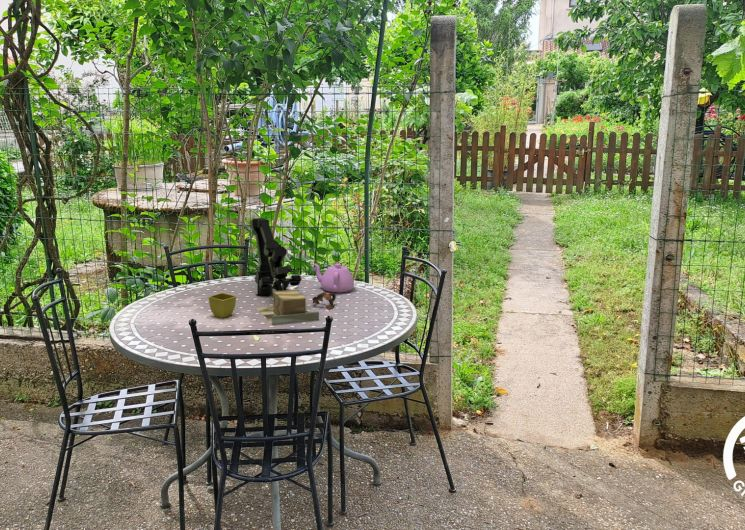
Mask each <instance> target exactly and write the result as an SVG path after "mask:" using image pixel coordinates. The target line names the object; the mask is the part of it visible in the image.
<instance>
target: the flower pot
mask: <svg viewBox="0 0 745 530" xmlns="http://www.w3.org/2000/svg"><path fill="white" fill-rule="evenodd" d="M236 301H237V295H234V294H230V293H225V292H220V293H217V294H213V295H210V296H208V302H209V307H210V311H211V313H212V314H213V315H214V316H215V317H216V318H217V317H219V318H222V319H223V318H226V317H230V316H232V314H233V313H234V311H235V308H236Z"/></svg>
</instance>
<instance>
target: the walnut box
mask: <svg viewBox="0 0 745 530" xmlns="http://www.w3.org/2000/svg"><path fill="white" fill-rule="evenodd" d="M306 300H307V299H306V297H305V296H304V295H303V294H301V293H300V292H298V291H297V290H296V289H288V290H287V289H286V290H285V291H276V290H274V291H273V306H274V314H275V315H276V316H279V315H289V314H299V313H305V309H306V307H307V306H306Z"/></svg>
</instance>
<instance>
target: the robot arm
mask: <svg viewBox="0 0 745 530" xmlns="http://www.w3.org/2000/svg"><path fill="white" fill-rule="evenodd" d="M249 227H250V229H251V233H252V234H253V235H254V237H255V242H256V247H257V249H256V250H257V255H258V256H257V257H258V263H259V265H258V266H257V271H256V274H255V277H254V283H255V284H256V285H257V293H255V296H259V297H265V298H268V297H270V296H272V295H274V291H285V290H287V288H289V285H290V286H292V287H294V286H299V285H300V283H301V281H302V276H301V275H300V274H292V275H291V277H289V278H287V277H288V274H289V273H291V272H292V271H293V268H292V264H287V265H286V266H284V265H283V262H284V261H285V258H286V256H287V253H288V250H287V249H286V248H285V247H284V246H282V244H280V243H279V241H277V240H275V238H274V235H273V232H272V229H271V226H270V220H269V219H266V218H265V217H256V218H255V217H253V218H251V220H250V221H249ZM273 290H274V291H273Z"/></svg>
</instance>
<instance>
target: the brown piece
mask: <svg viewBox="0 0 745 530" xmlns="http://www.w3.org/2000/svg"><path fill="white" fill-rule="evenodd" d="M336 296H337V295H336V294H335V292H329V293H327V291H323V292H321V293H319V294H317V295H316V296H314V297H312V298H311V300H312V305H313V304H316V305H320V302H324V299H325V300H326V301H327V302H328V304H327V305H326V308H327V310H328V311H329V310H331V309H333V308H334V307H335V305H334V302H335V300H336V298H337V297H336Z"/></svg>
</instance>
